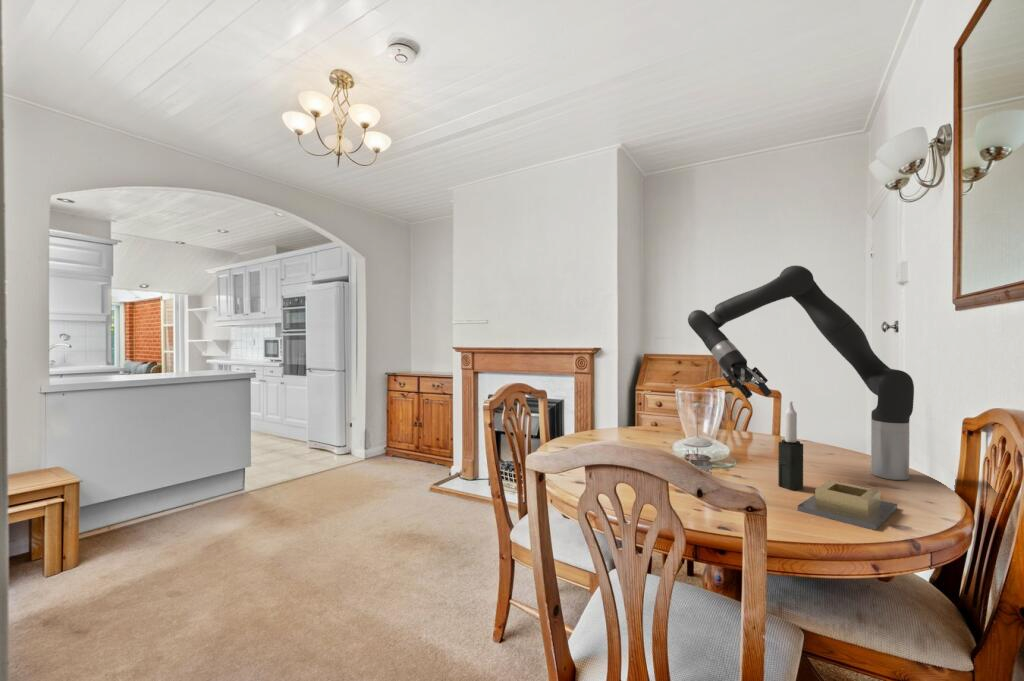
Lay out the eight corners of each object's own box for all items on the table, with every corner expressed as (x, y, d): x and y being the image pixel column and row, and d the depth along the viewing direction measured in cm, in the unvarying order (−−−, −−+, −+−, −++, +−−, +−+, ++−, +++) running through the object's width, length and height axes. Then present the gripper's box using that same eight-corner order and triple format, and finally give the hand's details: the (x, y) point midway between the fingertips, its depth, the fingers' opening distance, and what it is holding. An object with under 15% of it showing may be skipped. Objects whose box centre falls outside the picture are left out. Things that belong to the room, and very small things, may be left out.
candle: (805, 488, 135) (805, 401, 135) (792, 491, 134) (792, 402, 133) (788, 483, 140) (789, 399, 140) (776, 485, 138) (776, 400, 138)
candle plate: (824, 492, 132) (824, 474, 132) (897, 508, 120) (897, 489, 120) (797, 510, 119) (797, 490, 119) (875, 530, 107) (875, 508, 107)
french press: (721, 490, 134) (721, 403, 134) (704, 501, 126) (704, 407, 126) (688, 483, 141) (688, 399, 141) (669, 492, 133) (669, 404, 133)
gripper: (719, 349, 150) (751, 389, 140) (750, 348, 156) (783, 386, 146) (706, 365, 155) (736, 404, 145) (737, 363, 161) (767, 401, 151)
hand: (759, 395), depth 146 cm, fingers open, 8 cm apart
